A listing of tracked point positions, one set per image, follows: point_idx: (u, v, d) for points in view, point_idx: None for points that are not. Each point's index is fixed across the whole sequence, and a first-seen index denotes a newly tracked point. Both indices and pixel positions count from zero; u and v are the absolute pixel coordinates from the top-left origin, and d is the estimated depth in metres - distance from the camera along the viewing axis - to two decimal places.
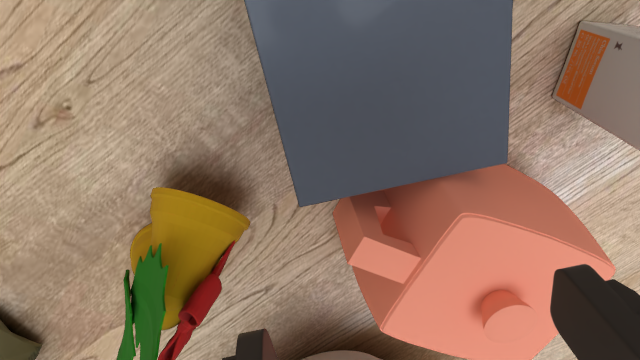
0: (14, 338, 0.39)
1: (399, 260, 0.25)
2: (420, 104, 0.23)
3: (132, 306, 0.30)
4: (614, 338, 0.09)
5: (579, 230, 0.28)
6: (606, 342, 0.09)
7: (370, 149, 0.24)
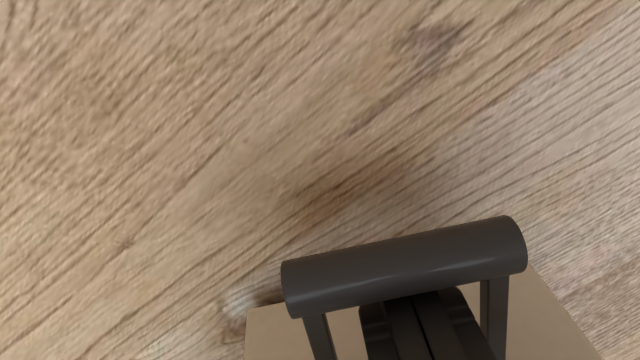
0: None
1: None
2: None
3: None
4: (423, 331, 0.10)
5: None
6: None
7: None
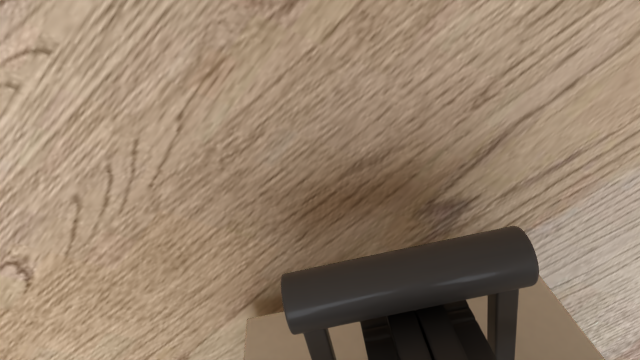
0: None
1: None
2: None
3: None
4: (423, 331, 0.10)
5: None
6: None
7: None
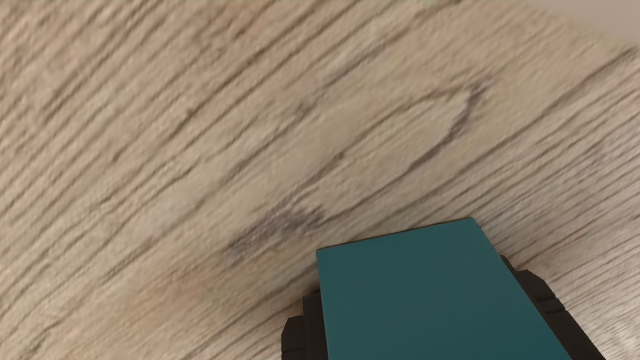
0: None
1: None
2: None
3: None
4: None
5: None
6: None
7: None
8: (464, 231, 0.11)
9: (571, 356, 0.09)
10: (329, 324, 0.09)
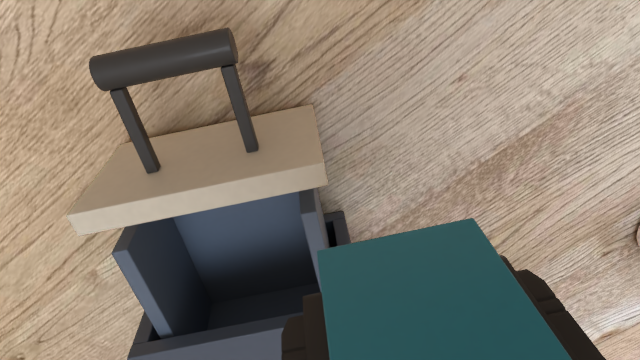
0: None
1: None
2: None
3: None
4: None
5: None
6: None
7: None
8: (465, 232, 0.11)
9: (571, 356, 0.09)
10: (330, 324, 0.09)
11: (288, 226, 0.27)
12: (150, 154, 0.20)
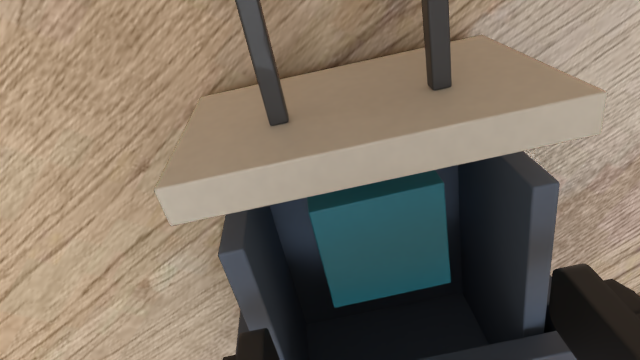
0: None
1: None
2: None
3: None
4: (612, 337, 0.09)
5: None
6: (604, 341, 0.10)
7: None
8: None
9: None
10: None
11: None
12: (280, 92, 0.12)
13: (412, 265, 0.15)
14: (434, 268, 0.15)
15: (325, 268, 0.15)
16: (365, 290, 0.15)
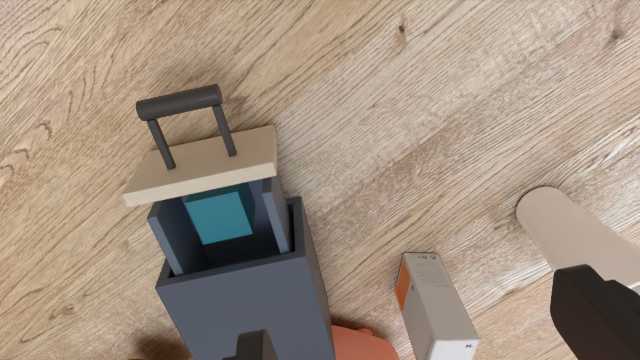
0: None
1: None
2: (276, 346, 0.39)
3: None
4: (614, 338, 0.09)
5: None
6: (606, 342, 0.09)
7: None
8: None
9: None
10: None
11: (261, 206, 0.40)
12: (170, 158, 0.33)
13: (233, 225, 0.35)
14: (243, 227, 0.36)
15: (195, 226, 0.35)
16: (215, 236, 0.36)
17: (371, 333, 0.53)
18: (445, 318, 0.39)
